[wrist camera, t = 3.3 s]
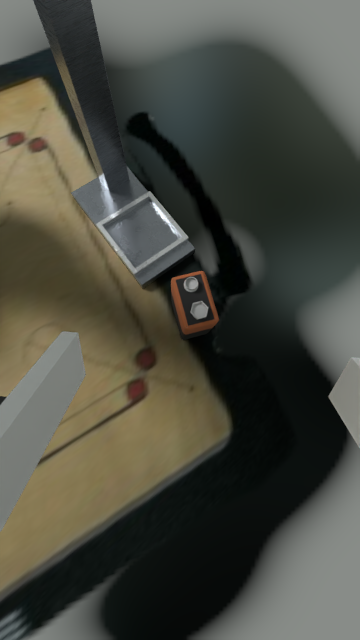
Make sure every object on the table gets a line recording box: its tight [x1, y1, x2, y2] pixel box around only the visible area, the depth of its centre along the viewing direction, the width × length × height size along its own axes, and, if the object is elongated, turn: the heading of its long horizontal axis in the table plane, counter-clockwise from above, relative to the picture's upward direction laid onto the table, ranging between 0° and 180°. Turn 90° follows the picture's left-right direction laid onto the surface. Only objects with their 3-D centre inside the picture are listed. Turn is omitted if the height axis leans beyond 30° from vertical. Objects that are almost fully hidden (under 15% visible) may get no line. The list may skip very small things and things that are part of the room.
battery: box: [171, 271, 219, 340], centre depth 32 cm, size 4×7×10 cm, turn 15°
